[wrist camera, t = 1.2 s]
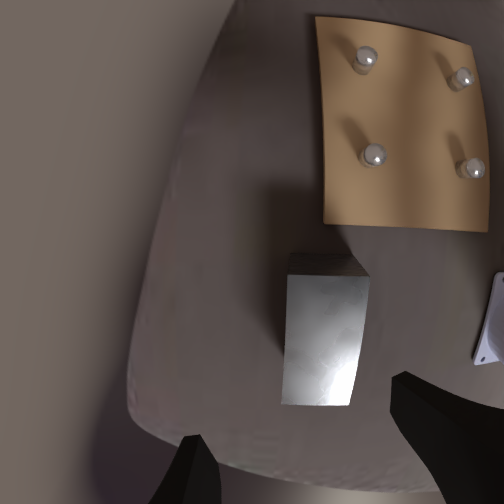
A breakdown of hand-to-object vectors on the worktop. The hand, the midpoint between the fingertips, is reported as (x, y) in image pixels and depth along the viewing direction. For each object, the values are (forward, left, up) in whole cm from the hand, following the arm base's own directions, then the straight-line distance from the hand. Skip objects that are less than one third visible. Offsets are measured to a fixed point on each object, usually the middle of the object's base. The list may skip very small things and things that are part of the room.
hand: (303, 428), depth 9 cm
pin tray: (-7, -13, -11) cm, 18 cm away
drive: (-1, 0, -11) cm, 11 cm away
